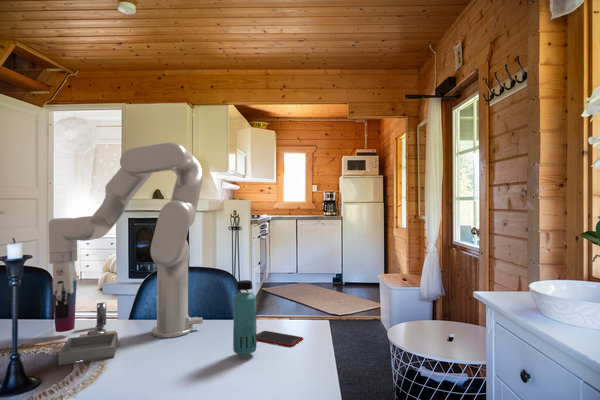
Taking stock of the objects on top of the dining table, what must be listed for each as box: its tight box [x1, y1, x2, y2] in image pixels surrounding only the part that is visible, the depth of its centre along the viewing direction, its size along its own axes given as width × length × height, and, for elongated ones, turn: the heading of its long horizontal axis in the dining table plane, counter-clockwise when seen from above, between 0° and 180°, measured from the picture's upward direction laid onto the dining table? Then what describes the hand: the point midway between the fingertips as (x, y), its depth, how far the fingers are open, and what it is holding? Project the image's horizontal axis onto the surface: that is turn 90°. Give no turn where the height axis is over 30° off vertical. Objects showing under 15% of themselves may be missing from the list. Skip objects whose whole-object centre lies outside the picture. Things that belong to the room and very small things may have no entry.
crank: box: [86, 301, 107, 336], centre depth 122 cm, size 16×5×7 cm, turn 21°
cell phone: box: [256, 330, 304, 348], centre depth 115 cm, size 8×15×1 cm, turn 61°
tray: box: [58, 332, 119, 366], centre depth 104 cm, size 13×13×3 cm
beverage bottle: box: [232, 279, 258, 355], centre depth 102 cm, size 6×7×20 cm
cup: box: [50, 278, 77, 333], centre depth 119 cm, size 7×7×15 cm
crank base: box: [34, 330, 117, 347], centre depth 114 cm, size 21×8×1 cm, turn 111°
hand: (64, 314), depth 119 cm, fingers closed on cup, 6 cm apart
